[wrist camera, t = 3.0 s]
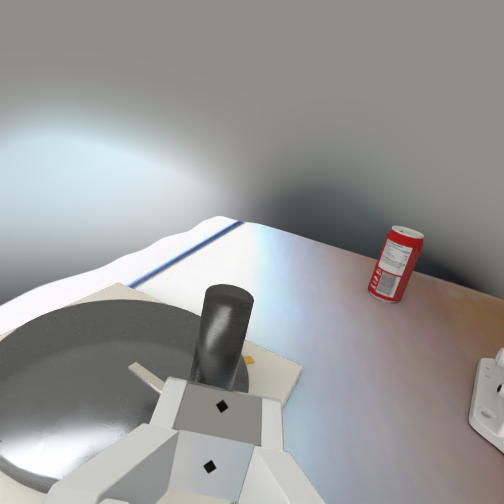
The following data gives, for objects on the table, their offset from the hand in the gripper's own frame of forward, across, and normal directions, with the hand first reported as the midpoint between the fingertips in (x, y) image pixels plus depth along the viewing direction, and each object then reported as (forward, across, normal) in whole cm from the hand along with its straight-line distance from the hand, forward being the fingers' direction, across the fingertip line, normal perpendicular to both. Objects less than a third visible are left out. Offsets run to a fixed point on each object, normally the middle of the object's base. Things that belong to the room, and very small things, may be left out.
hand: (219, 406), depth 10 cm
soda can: (+49, -25, +16) cm, 57 cm away
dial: (+17, +7, +15) cm, 23 cm away
